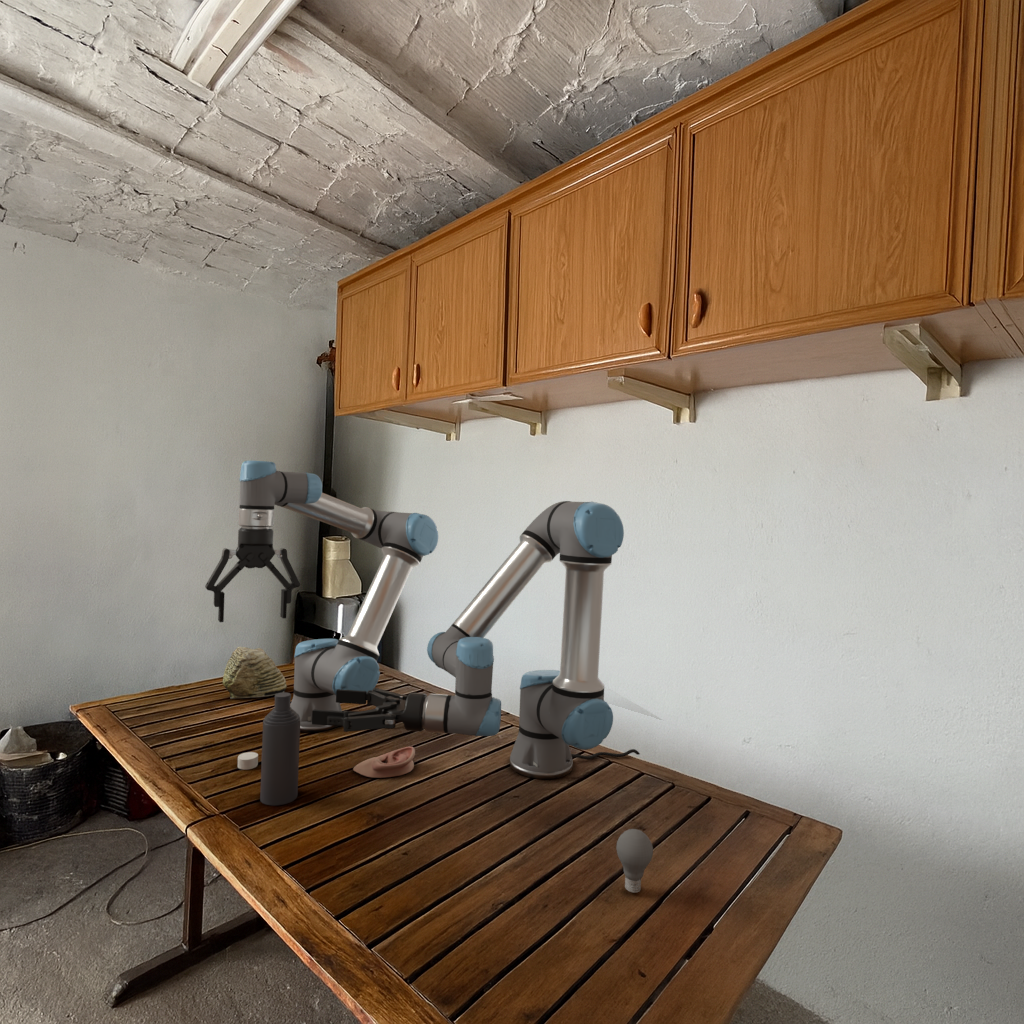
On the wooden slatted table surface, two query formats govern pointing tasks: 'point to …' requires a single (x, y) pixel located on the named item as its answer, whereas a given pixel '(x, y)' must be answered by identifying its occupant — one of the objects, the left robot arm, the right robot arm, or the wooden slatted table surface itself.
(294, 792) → the bottle
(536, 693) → the right robot arm
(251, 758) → the cap
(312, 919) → the wooden slatted table surface
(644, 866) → the light bulb
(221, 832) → the wooden slatted table surface
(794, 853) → the wooden slatted table surface
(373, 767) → the anatomical model
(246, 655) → the fossil
